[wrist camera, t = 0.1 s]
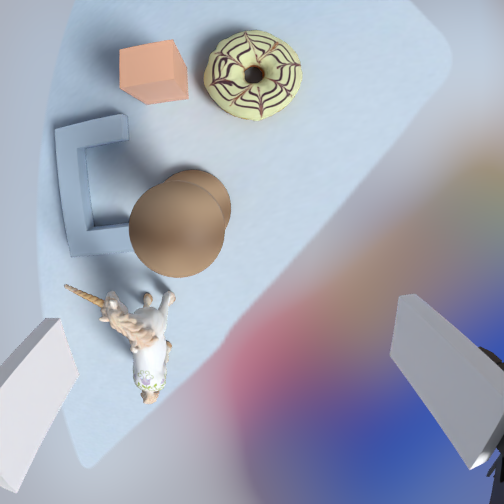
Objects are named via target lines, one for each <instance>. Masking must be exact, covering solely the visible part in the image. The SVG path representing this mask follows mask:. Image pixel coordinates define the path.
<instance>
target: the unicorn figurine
mask: <svg viewBox="0 0 504 504" xmlns="http://www.w3.org/2000/svg"><path fill="white" fill-rule="evenodd" d="M64 287H65V288H66V289H68V290H69V291H72V292H73V293H75V294H77V295H78V296H81V297H82V298H84V299H87V300H88V301H90V302H92V303H93V304H96V305H98V306H99V307H101V308H102V309H101V312H102V316H103V317H100V318H99V320H100V321H102V322H110V325H111V327H112V328H113V329H116V330H117V331H118V332H119V333H122V334H123V335H124V336H126V337H127V338H128V339H129V342H130V344H131V347H130V351H131V352H132V353H133V360H134V362H133V379H134V382H135V384H136V386H137V387H138V388H140V389H141V390H142V393H141V396H142V398H143V401H144V403H146V404H152V403H153V402H156V400H157V398H158V394H159V390H161V389H163V388H164V386H165V383H166V375H167V369H166V363H167V362H168V361H169V359H168V358H169V356H168V353H169V352H170V351H171V347H172V345H171V343H170V342H168V341H166V339H165V336H164V333H165V330H166V327H167V316H168V306H170V305H171V304H173V302H174V301H175V299H176V298H175V295H174V293H173V292H171V291H168V292H166V293H164V295H163V297H162V302H161V304H160V307H159V309H158V310H157V309H156V308H154V307H150V306H149V305H151V303H152V300H153V299H152V296H151V295H150V294H148V293H146V294H145V295H144V298H143V301H144V306H143V308H139V309H137V310H136V311H135V312H134V314H131V313H128V309H127V307H126V306H125V305H124V304H123V303H122V302H120V300H119V298H118V296H117V295H116V294H115V292H114V291H110V292H108V293H107V296H106V298H105V301H104V300H102V299H99V298H98V297H96V296H93V295H91V294H87V293H86V292H83V291H81V290H78V289H76V288H73V287H72V286H69V285H67V284H65V285H64Z"/></svg>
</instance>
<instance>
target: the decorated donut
mask: <svg viewBox="0 0 504 504" xmlns="http://www.w3.org/2000/svg"><path fill="white" fill-rule="evenodd" d="M249 67H257V68H259V69H260V71H261V72H262V74H263V75H262V76H263V77H262V78H263V79H262V80H261V81H260V82H258V83H254V84H253V83H248V82H246V81H245V78H244V77H245V73H244V71H245V70H246V69H248V68H249ZM301 81H302V70H301V64H300V61H299V58H298V55H297V54H296V52H295V51H294V50H293V49H292V48H291V47H290V46H289V45H288V44H287V43H286V42H284V41H282V40H281V39H279V38H277V37H275V36H273V35H271V34H269V33H267V32H263V31H259V30H251V31H243V32H239V33H237V34H234V35H232V36H231V37H229V38H227V39H224V40H222V41H220V42H219V43H218V45H217V47H216V50H215V51H213V52H212V53H211V54H210V56H209V61H208V65H207V67H206V69H205V72H204V85H205V87H206V89H207V91H208V92H209V94H210V96H211V98H212V99H214V101H215V102H216V103H217V104H218V105H219V106H220V107H221V108H222V109H223V110H224V111H226V112H227V113H229V114H231V115H233V116H236V117H239V118H242V119H250V120H254V121H260V120H262V119H264V118H267V117H270V116H272V115H274V114H275V113H277V112H279V111H280V110H282V109H283V108H284V107H286V106H287V105H288V104H289V103H290V102H291V101H292V99H293V98H294V96H295V95H296V93H297V92H298V90H299V88H300V84H301Z"/></svg>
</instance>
